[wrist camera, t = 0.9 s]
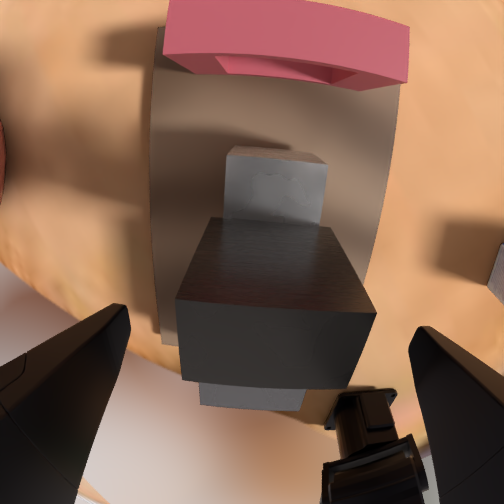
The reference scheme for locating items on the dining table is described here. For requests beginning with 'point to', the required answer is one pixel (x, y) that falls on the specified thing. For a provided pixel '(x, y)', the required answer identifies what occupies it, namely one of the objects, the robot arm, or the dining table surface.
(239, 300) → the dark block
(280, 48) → the pink open tray
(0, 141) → the pottery
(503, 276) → the medicine box
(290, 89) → the base board
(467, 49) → the dining table surface
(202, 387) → the outer sleeve
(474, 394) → the robot arm
